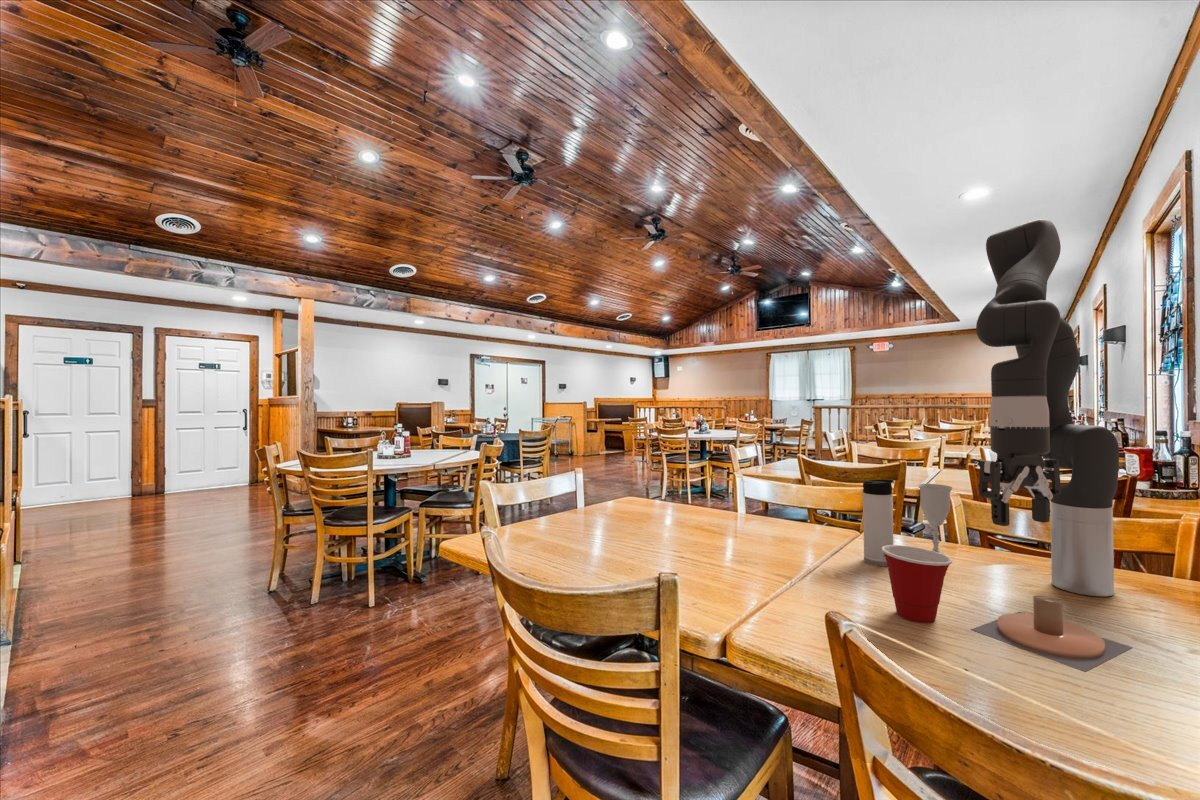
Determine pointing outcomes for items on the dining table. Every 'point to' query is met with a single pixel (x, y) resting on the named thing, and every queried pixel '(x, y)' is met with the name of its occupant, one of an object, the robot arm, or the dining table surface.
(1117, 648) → the mat
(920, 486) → the chalice
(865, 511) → the travel mug
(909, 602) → the plastic cup
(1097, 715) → the dining table surface
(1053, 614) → the lid
